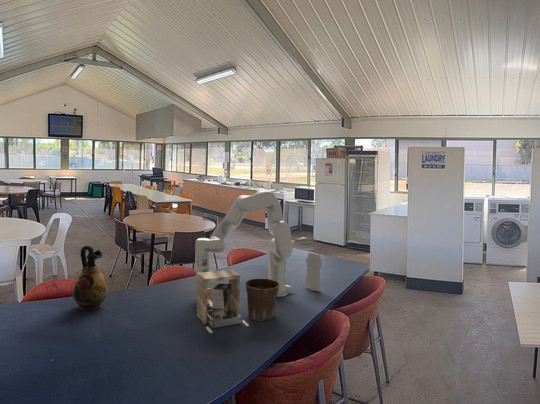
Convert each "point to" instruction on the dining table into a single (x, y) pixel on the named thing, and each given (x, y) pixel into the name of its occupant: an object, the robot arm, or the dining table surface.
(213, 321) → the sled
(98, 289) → the ceramic jug
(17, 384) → the dining table surface
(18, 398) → the dining table surface
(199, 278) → the tunnel
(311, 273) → the tall pale column
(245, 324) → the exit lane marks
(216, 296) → the coffee box
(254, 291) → the plant pot
